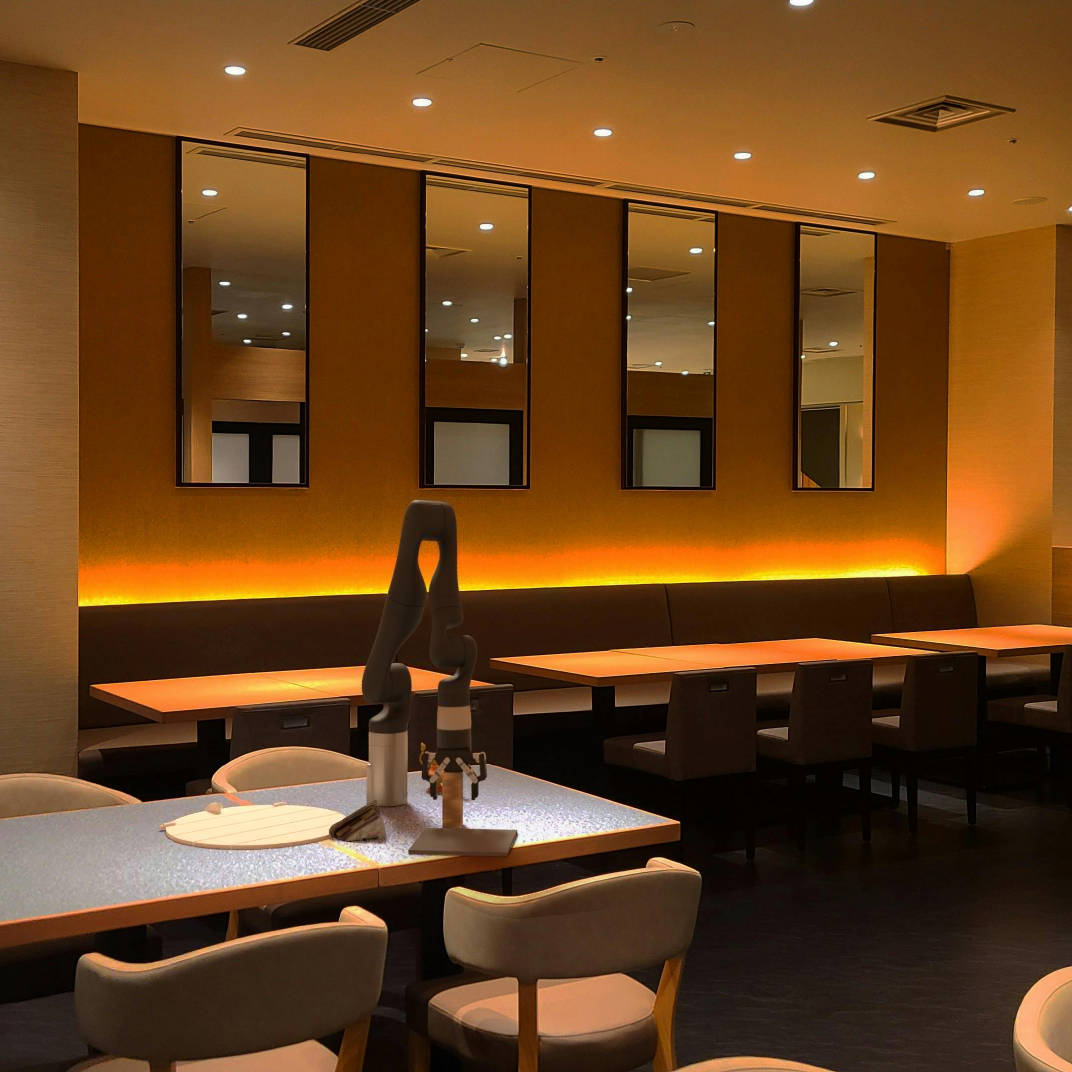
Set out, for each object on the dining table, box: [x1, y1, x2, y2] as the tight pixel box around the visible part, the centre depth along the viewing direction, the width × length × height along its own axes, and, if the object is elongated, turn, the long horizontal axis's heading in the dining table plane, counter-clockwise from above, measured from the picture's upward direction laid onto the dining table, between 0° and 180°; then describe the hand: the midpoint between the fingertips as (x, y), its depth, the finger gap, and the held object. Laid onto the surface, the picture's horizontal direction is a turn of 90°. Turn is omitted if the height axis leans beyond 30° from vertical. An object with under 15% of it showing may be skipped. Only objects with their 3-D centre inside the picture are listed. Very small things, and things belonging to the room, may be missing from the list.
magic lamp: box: [419, 742, 444, 793], centre depth 328 cm, size 7×18×11 cm, turn 40°
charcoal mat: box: [407, 827, 518, 857], centre depth 272 cm, size 20×20×1 cm
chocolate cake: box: [329, 800, 387, 843], centre depth 278 cm, size 10×7×12 cm
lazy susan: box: [158, 801, 347, 850], centre depth 287 cm, size 40×39×3 cm
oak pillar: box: [441, 771, 464, 828], centre depth 289 cm, size 4×4×12 cm
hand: (454, 799), depth 289 cm, fingers open, 8 cm apart
